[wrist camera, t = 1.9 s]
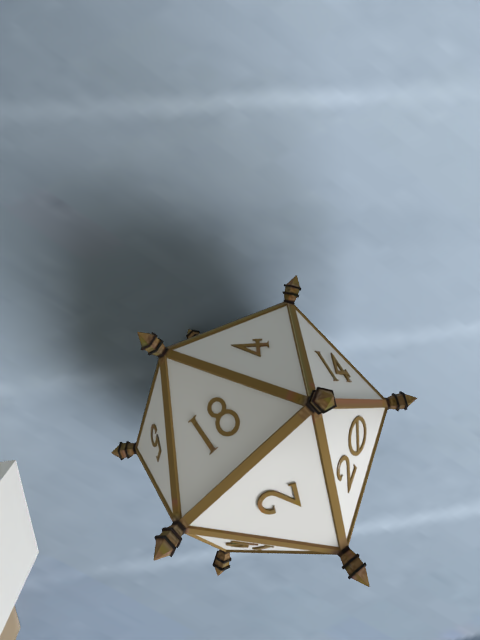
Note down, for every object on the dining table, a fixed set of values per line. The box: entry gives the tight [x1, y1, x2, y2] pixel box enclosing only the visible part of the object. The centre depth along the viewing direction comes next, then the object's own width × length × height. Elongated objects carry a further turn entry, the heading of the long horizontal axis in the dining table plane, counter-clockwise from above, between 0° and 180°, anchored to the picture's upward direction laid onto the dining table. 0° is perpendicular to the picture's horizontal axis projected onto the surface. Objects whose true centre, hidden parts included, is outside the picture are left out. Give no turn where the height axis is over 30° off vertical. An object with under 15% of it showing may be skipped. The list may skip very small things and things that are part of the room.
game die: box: [112, 275, 417, 587], centre depth 12 cm, size 9×8×10 cm
